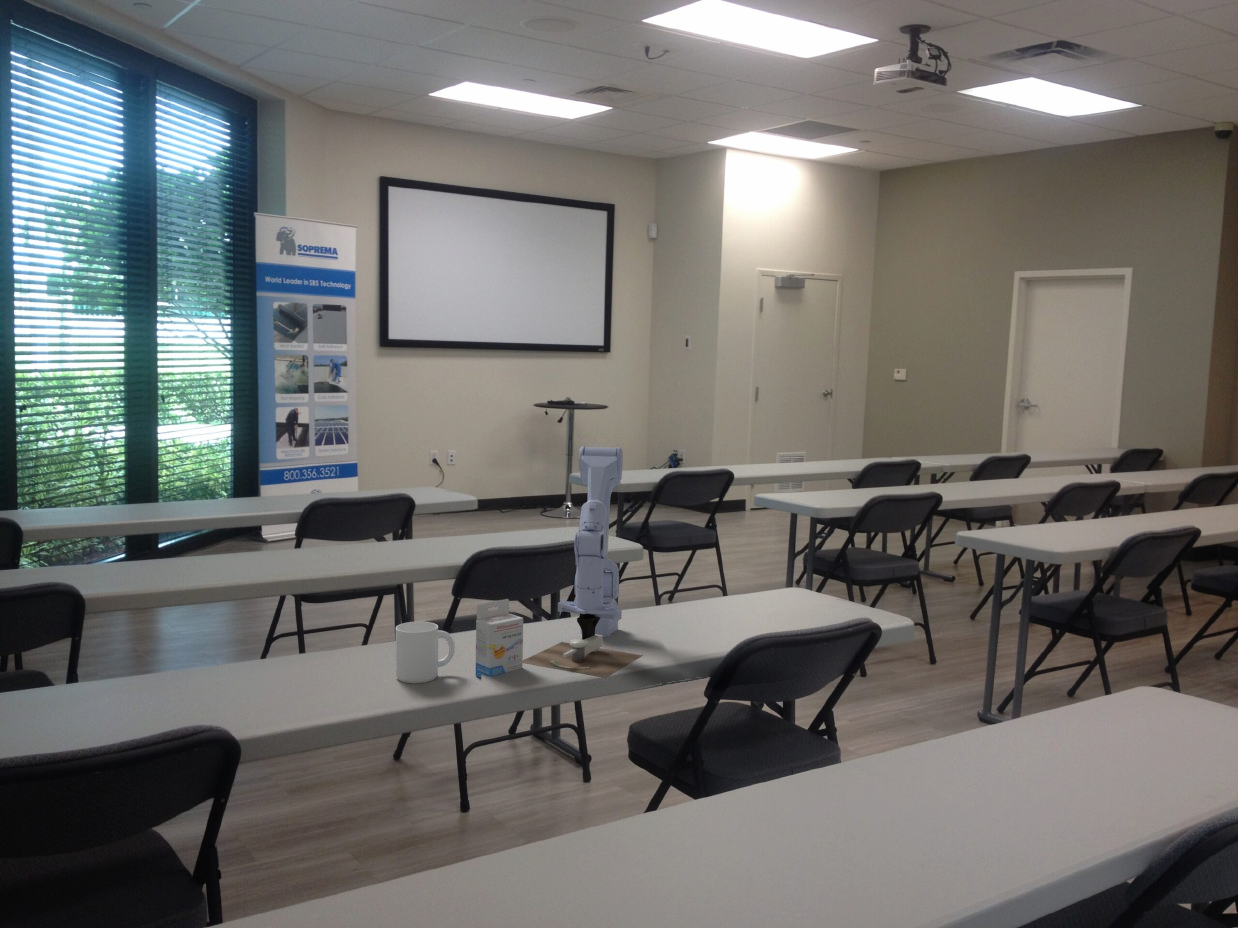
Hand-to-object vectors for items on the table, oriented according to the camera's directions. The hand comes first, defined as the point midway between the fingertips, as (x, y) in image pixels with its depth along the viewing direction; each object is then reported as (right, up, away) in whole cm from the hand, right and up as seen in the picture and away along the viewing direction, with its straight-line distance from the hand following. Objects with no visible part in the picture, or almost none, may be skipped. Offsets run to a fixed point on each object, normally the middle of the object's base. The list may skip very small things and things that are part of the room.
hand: (588, 648), depth 212 cm
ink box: (-18, -3, -13) cm, 22 cm away
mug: (-32, -3, -15) cm, 35 cm away
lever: (-1, -1, -5) cm, 6 cm away
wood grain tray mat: (-1, -2, -5) cm, 6 cm away
